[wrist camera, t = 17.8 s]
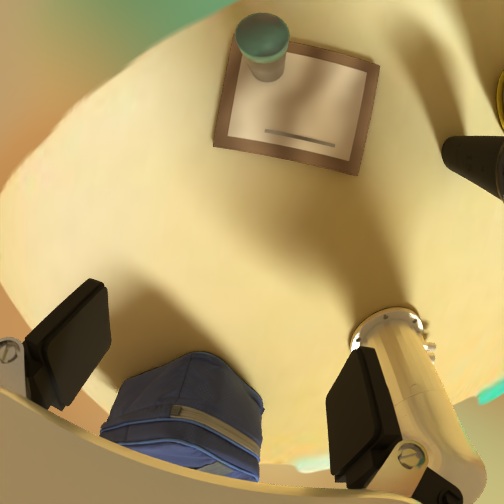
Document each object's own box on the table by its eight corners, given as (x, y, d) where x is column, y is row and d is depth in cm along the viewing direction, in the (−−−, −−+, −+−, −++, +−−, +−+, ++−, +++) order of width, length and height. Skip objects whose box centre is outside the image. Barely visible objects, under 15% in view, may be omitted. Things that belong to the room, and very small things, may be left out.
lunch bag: (172, 435, 61) (152, 504, 42) (106, 385, 55) (68, 456, 36) (279, 404, 51) (275, 499, 33) (205, 336, 45) (171, 447, 27)
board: (376, 67, 28) (380, 65, 26) (354, 174, 33) (358, 176, 32) (235, 36, 28) (233, 32, 26) (214, 145, 33) (212, 146, 32)
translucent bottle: (287, 57, 27) (293, 17, 15) (281, 86, 29) (284, 61, 17) (253, 51, 27) (240, 10, 15) (248, 81, 29) (230, 54, 17)
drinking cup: (467, 120, 28) (579, 138, 10) (480, 172, 31) (582, 219, 13) (426, 133, 30) (539, 156, 12) (440, 188, 33) (543, 248, 14)
